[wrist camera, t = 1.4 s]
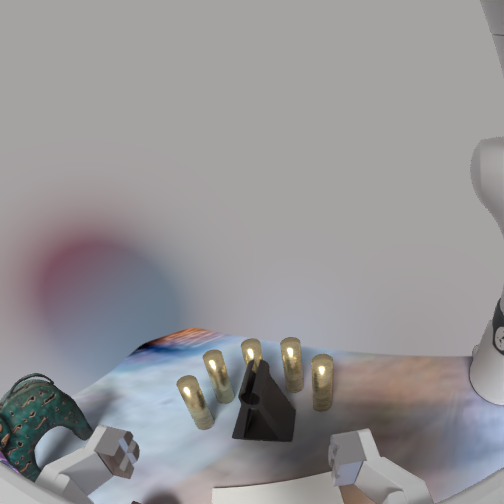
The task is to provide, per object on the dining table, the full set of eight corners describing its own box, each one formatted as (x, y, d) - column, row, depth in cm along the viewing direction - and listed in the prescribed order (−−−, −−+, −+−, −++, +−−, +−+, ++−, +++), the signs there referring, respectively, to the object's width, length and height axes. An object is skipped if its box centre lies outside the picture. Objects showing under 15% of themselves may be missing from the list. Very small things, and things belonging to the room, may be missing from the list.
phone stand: (295, 412, 39) (290, 358, 35) (292, 442, 34) (286, 391, 30) (240, 410, 41) (225, 358, 38) (232, 438, 36) (212, 388, 32)
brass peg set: (318, 369, 48) (316, 326, 45) (333, 408, 38) (335, 365, 35) (199, 388, 47) (183, 347, 44) (195, 430, 38) (175, 390, 35)
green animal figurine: (37, 497, 20) (-48, 415, 13) (21, 477, 22) (-53, 395, 16) (101, 433, 37) (43, 344, 30) (82, 419, 39) (28, 334, 33)
